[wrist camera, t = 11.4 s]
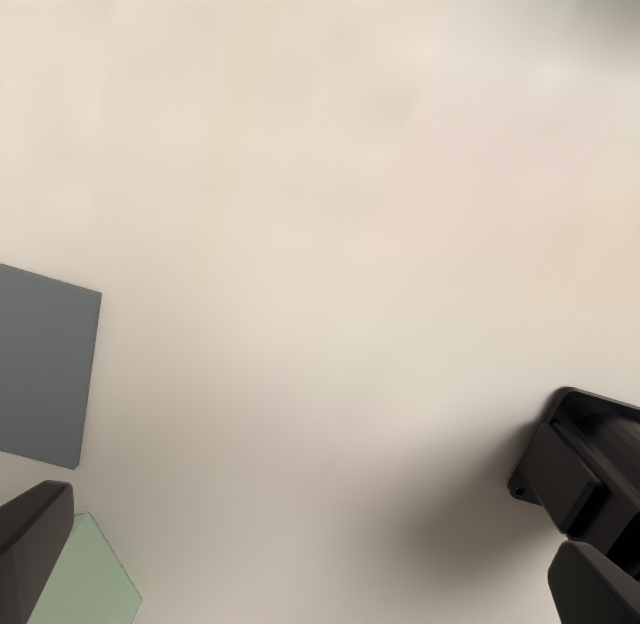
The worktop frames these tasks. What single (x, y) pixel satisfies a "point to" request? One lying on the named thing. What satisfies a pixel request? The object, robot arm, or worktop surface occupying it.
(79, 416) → the mat
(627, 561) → the robot arm
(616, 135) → the worktop surface
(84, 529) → the cover
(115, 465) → the worktop surface
